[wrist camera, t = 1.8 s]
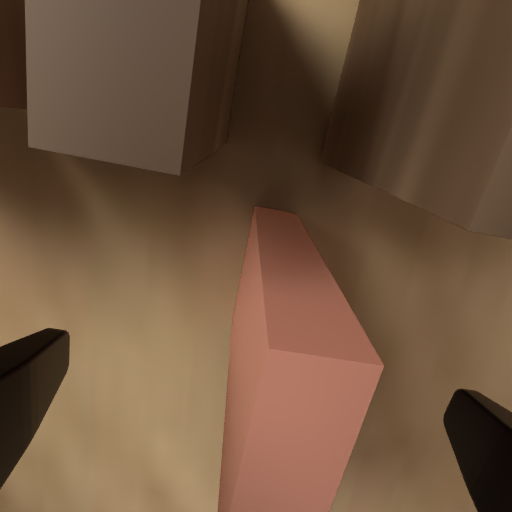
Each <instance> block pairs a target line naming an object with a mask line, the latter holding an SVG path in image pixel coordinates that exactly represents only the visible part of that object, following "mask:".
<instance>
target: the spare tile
mask: <svg viewBox="0 0 512 512" xmlns="http://www.w3.org/2000/svg"><path fill="white" fill-rule="evenodd" d="M383 368H384V365H383V363H382V361H381V359H380V358H379V356H378V354H377V352H376V351H375V349H374V347H373V345H372V344H371V342H370V340H369V339H368V337H367V335H366V333H365V332H364V330H363V328H362V326H361V325H360V323H359V321H358V319H357V318H356V316H355V314H354V313H353V311H352V309H351V307H350V306H349V304H348V302H347V300H346V299H345V297H344V295H343V293H342V292H341V290H340V288H339V287H338V285H337V283H336V281H335V280H334V278H333V276H332V274H331V273H330V271H329V269H328V267H327V266H326V264H325V262H324V261H323V259H322V257H321V255H320V254H319V252H318V250H317V248H316V247H315V245H314V243H313V241H312V240H311V238H310V236H309V235H308V233H307V231H306V229H305V228H304V226H303V224H302V222H301V221H300V219H299V217H298V215H297V214H295V213H290V212H285V211H279V210H274V209H269V208H263V207H258V206H254V212H253V217H252V222H251V227H250V232H249V237H248V243H247V248H246V253H245V258H244V263H243V268H242V273H241V279H240V284H239V289H238V294H237V299H236V304H235V310H234V315H233V320H232V330H231V343H230V356H229V369H228V383H227V396H226V409H225V422H224V436H223V449H222V462H221V475H220V488H219V502H218V512H329V511H330V508H331V506H332V503H333V500H334V498H335V495H336V493H337V490H338V487H339V485H340V482H341V479H342V477H343V474H344V471H345V469H346V466H347V463H348V461H349V458H350V455H351V453H352V450H353V447H354V445H355V442H356V440H357V437H358V434H359V432H360V429H361V426H362V424H363V421H364V418H365V416H366V413H367V410H368V408H369V405H370V402H371V400H372V397H373V395H374V392H375V389H376V387H377V384H378V381H379V379H380V376H381V373H382V371H383Z"/></svg>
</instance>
